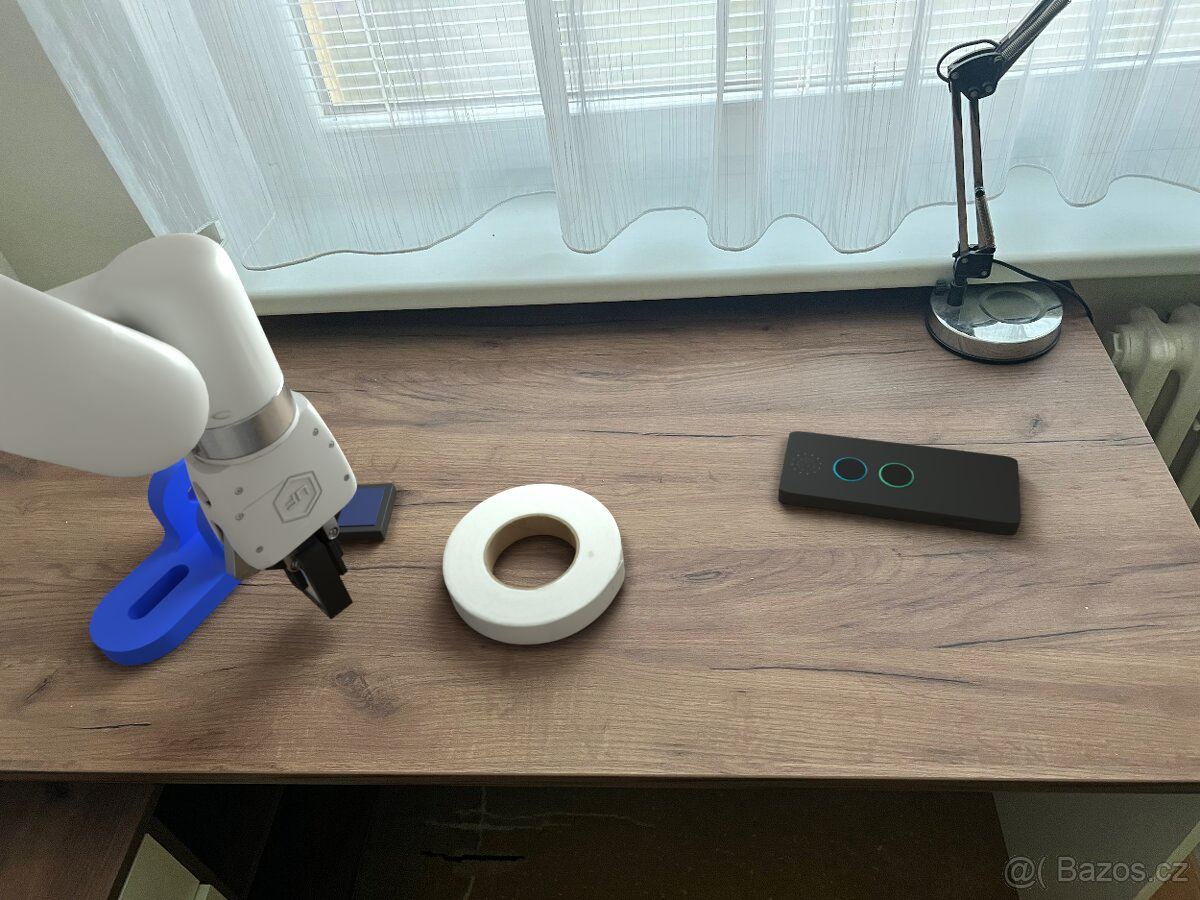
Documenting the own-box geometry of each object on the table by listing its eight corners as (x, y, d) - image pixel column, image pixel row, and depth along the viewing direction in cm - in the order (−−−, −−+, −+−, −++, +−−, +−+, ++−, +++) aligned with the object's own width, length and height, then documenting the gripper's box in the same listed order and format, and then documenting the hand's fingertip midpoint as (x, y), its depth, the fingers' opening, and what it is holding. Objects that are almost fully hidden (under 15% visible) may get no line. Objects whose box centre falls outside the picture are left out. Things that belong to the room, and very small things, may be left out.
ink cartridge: (300, 592, 75) (265, 530, 69) (322, 575, 76) (290, 513, 70) (331, 623, 72) (298, 561, 66) (354, 605, 73) (323, 543, 68)
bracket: (233, 500, 86) (194, 434, 80) (295, 526, 83) (259, 459, 76) (81, 643, 75) (22, 579, 69) (145, 679, 72) (89, 616, 66)
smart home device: (790, 427, 83) (1018, 454, 78) (789, 440, 84) (1013, 468, 79) (777, 490, 77) (1022, 524, 72) (776, 503, 79) (1017, 538, 73)
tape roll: (438, 650, 71) (429, 631, 69) (459, 509, 82) (453, 488, 80) (627, 640, 70) (624, 620, 68) (624, 498, 81) (621, 477, 79)
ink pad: (290, 544, 81) (284, 533, 80) (307, 496, 85) (302, 485, 84) (384, 540, 80) (380, 530, 79) (397, 492, 84) (393, 481, 83)
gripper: (168, 507, 54) (275, 668, 66) (359, 365, 62) (421, 533, 75) (104, 462, 57) (217, 623, 70) (292, 334, 66) (362, 499, 78)
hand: (322, 575), depth 72 cm, fingers closed on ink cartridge
